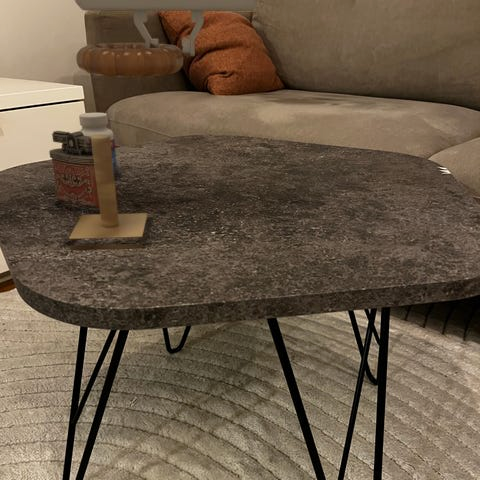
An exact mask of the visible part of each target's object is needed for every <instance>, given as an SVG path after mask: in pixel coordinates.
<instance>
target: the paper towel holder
mask: <svg viewBox="0 0 480 480" xmlns="http://www.w3.org/2000/svg"><path fill="white" fill-rule="evenodd" d="M91 143H92V151H93V159H94V168H95V176H96V184H97V192H98V200H99V206H98V208H99V209H98V210H99V214H98V213H97V214H81V215H80V217H79V219H78V221H77V223H76V224H75V226H74V228H73V230H72V232H71V233H70V235H69V238H68V239H69V240H88V239H89V240H90V239H95V240H96V239H125V238H126V239H127V238H129V239H130V238H131V239H133V238H143V236H144V232H145V227H146V225H147V224H146V223H147V219H148V213H147V212H146V213H145V212H141V213H138V212H137V213H119V211H118V200H117V192H116V182H115V174H114V172H113V162H112V153H111V144H110V136H109V135H104V134H100V135H93V136H91ZM144 246H145V243H122V244H119V243H117V244H88V245H87V244H83V245H70V251H95V250H96V251H97V250H98V251H100V250H102V251H103V250H133V249H134V250H135V249H136V250H139V249H144Z"/></svg>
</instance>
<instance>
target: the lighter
mask: <svg viewBox="0 0 480 480" xmlns="http://www.w3.org/2000/svg"><path fill="white" fill-rule="evenodd" d="M51 136H52V142H53V143H58V144H61V147H60V148H53V149H50V150H49V152H48V153H49V158H50V159H51V162H52V168H53V169H52V170H53V174H54V182H55V187H56V194H57V199H58V200H61V201H63V202H67V203H69V204H70V203H71V204H75V205H81V206H90V207H99V200H98V192H97V184H96V176H95V168H94V159H93V152H92V143H91V137H90V136H84V135H83V133H82V132H80V131H79V130H78V131H74V132H69V131H64V130H63V131H62V130H53V132H52V133H51Z"/></svg>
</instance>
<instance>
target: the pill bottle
mask: <svg viewBox="0 0 480 480" xmlns="http://www.w3.org/2000/svg"><path fill="white" fill-rule="evenodd" d="M78 117H79V126H81V129H79V130H78V131H80V132H82V133H83V135H84V136H90V137H91V136H93V135H100V134H104V135H109V136H110V144H111V153H112V162H113V172H114V175H116V174H117V173H118V166H117V165H118V164H117V156H116V155H117V154H116V145H115V135H114V131H113V130H111V128H108V124H109V120H108V119H109V118H108V114H107V113H105V112H85V113H80V114H79V115H78ZM92 152H93V151H92Z"/></svg>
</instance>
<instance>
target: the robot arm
mask: <svg viewBox="0 0 480 480" xmlns="http://www.w3.org/2000/svg"><path fill="white" fill-rule="evenodd" d="M260 1H261V0H74V2H75V4H76V5H77V6H78V8H80V9H81V10H82V11H84V12H86V11H89V12H90V11H92V12H93V11H97V12H98V11H100V12H103V11H104V12H106V11H109V12H110V11H111V12H112V11H113V12H114V11H116V12H118V11H120V12H123V11H124V12H126V11H127V12H132V14H133V15H132V17H133V24H134V25H135V27H136V29H137V30H138V32H139V34H140V35H141V37H142V39H143V40H144V43H145V46H146V48H158V46H159V44H160V40H159V38H152V36H151V35H150V33H149V31H148V30H147V28H146V26H145V24H144V23H147V22H148V12H151V11H152V12H190V21H191V23H195V24H194V26H193V28H192V30H191V33H190V35H189V36H188V38H181V47H182V49H181V51H182V55H183V57H195V56H196V47H195V40H196V39H197V37H198V35H199V33H200V32H201V29H202V27H203V25H204V23H205V21H204V19H205V17H204V12H253V11H255V9H256V8H257V7H258V5H259V4H260Z"/></svg>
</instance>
